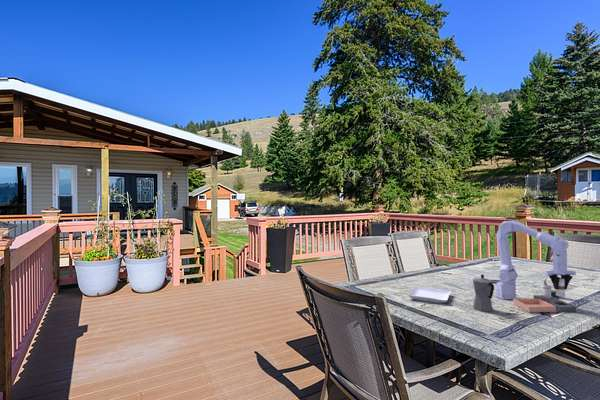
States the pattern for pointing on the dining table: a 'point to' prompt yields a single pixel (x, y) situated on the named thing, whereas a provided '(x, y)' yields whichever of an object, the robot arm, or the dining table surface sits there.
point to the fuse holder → (558, 304)
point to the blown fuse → (561, 288)
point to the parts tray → (534, 305)
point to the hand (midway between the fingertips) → (560, 289)
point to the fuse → (546, 292)
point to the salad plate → (430, 294)
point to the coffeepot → (483, 294)
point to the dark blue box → (553, 292)
